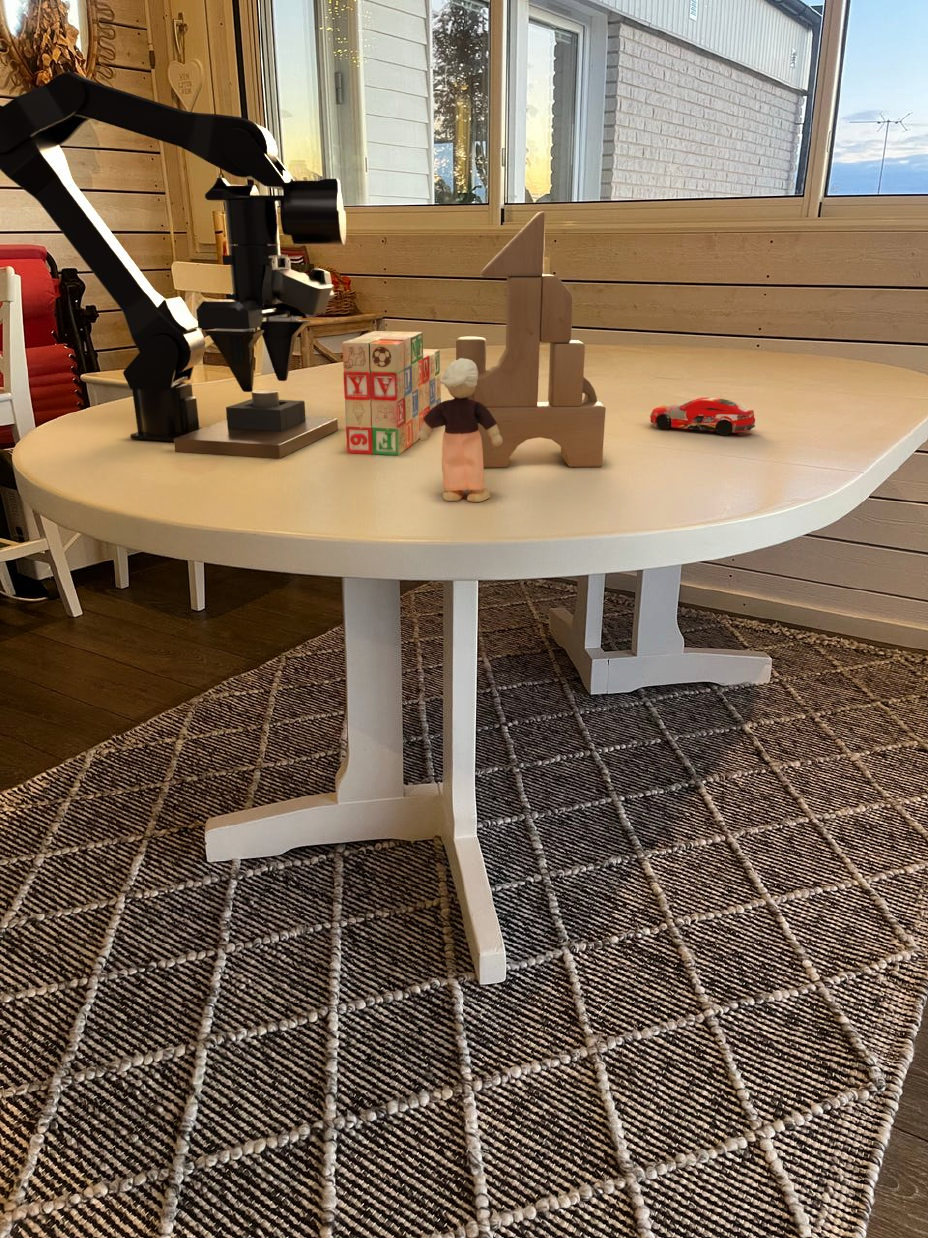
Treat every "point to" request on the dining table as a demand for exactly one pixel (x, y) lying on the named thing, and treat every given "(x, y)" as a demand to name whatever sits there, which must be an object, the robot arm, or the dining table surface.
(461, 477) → the grandmother figurine
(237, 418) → the rubber pad
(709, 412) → the race car
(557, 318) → the wooden toy
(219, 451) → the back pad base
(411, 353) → the stack of blocks
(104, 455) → the dining table surface
